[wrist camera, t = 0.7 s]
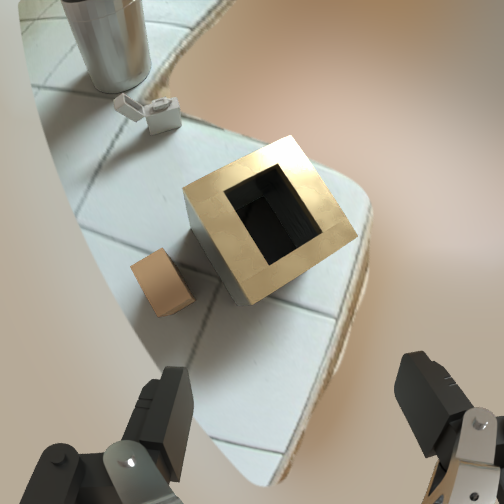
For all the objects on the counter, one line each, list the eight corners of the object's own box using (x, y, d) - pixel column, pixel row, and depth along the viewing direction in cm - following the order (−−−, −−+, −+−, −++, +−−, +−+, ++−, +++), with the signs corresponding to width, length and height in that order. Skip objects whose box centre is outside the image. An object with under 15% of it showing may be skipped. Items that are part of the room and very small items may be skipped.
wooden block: (152, 278, 33) (130, 266, 23) (175, 264, 33) (162, 247, 23) (172, 314, 32) (158, 317, 22) (196, 300, 33) (191, 297, 23)
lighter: (178, 116, 36) (174, 76, 29) (182, 126, 36) (178, 87, 28) (126, 132, 35) (111, 95, 27) (128, 143, 35) (113, 106, 27)
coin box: (190, 227, 34) (182, 187, 22) (265, 187, 36) (290, 135, 24) (237, 305, 33) (252, 305, 22) (311, 259, 35) (358, 236, 24)
